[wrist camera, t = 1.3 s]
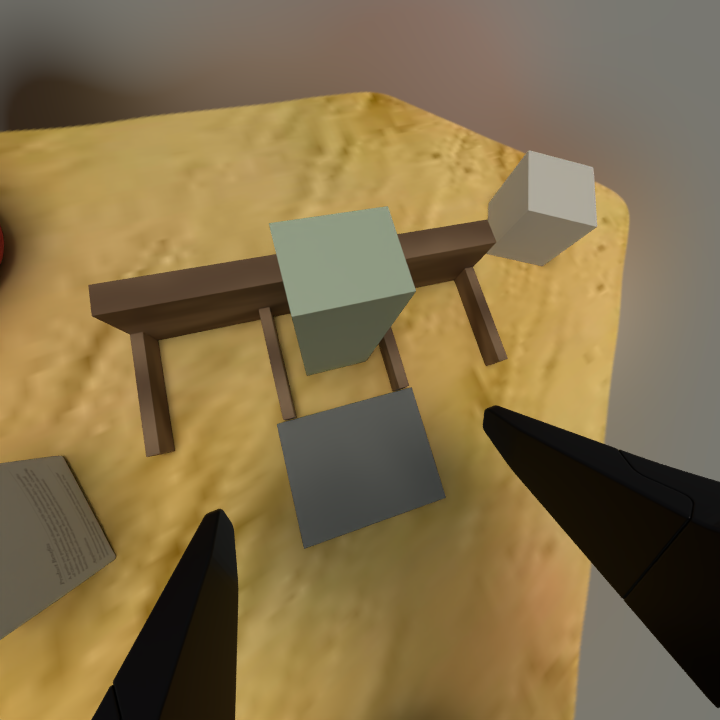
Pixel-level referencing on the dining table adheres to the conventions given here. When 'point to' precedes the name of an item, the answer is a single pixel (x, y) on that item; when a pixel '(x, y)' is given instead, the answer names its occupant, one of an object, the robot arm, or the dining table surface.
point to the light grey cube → (542, 209)
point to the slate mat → (358, 465)
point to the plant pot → (1, 245)
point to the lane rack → (272, 312)
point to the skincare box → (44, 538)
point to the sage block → (342, 283)
